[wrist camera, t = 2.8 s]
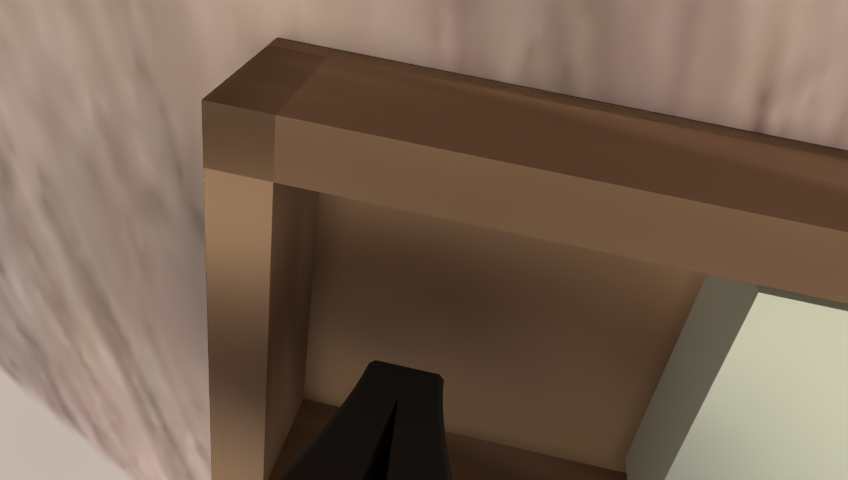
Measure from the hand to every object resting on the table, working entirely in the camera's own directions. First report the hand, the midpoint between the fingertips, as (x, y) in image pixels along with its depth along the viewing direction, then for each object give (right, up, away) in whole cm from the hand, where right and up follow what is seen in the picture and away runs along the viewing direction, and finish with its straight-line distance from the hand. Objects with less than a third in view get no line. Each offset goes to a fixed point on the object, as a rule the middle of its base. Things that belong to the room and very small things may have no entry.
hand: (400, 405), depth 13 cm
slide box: (+6, +1, +3) cm, 6 cm away
